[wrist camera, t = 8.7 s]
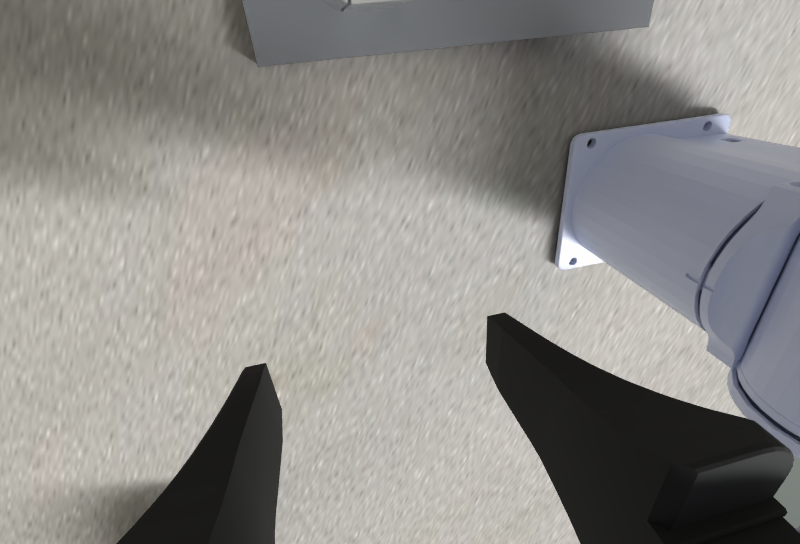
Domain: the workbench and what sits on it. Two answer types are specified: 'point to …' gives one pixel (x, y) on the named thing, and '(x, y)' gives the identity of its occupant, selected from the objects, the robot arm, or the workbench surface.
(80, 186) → the workbench surface
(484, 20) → the flange plate
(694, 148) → the robot arm
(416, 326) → the workbench surface
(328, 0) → the socket collar
